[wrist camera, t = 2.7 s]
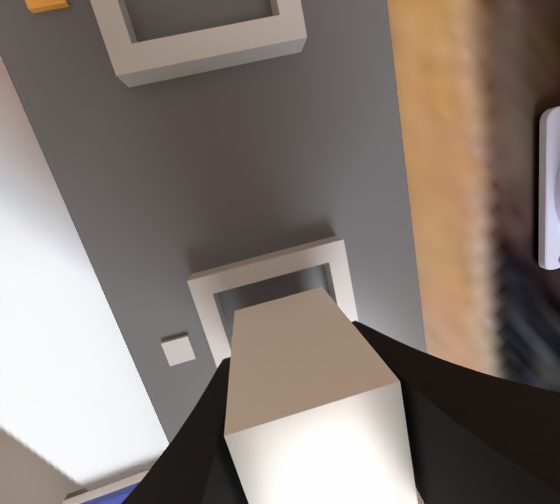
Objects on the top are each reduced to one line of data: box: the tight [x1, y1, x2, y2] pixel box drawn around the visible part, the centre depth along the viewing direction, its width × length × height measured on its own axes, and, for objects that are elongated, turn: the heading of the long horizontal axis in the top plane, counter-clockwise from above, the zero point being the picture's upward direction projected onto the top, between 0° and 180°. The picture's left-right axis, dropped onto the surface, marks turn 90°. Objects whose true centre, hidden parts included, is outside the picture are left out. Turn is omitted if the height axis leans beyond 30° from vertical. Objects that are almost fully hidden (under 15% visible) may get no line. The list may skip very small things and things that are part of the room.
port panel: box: [0, 0, 427, 444], centre depth 11 cm, size 14×24×2 cm, turn 13°
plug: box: [224, 287, 418, 504], centre depth 8 cm, size 4×4×6 cm
